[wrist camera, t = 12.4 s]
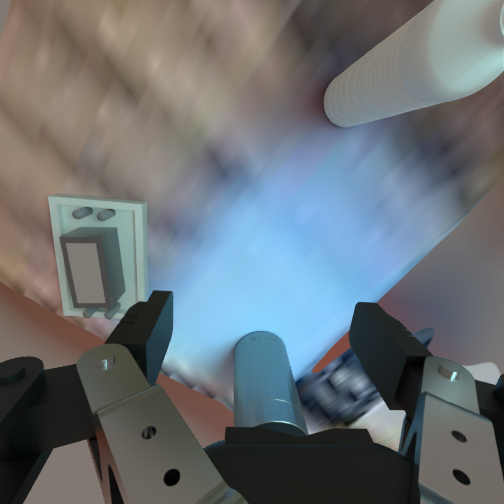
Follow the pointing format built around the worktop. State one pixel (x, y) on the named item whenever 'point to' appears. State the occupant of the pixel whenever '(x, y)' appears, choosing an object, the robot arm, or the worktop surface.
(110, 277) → the block
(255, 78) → the worktop surface
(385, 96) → the water bottle
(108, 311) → the tray
